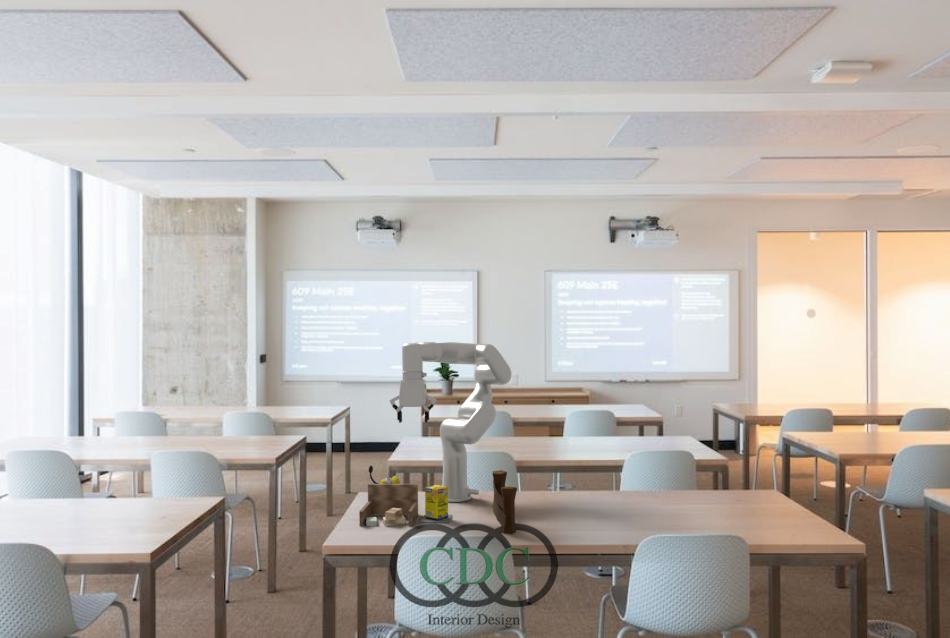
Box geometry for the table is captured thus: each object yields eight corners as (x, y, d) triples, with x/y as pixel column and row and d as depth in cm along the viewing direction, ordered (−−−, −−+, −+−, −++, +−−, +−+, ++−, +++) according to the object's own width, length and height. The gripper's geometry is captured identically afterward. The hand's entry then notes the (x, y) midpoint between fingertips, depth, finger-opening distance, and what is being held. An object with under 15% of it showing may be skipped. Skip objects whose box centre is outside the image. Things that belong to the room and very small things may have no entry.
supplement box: (437, 521, 260) (437, 489, 260) (424, 518, 264) (424, 487, 264) (448, 517, 265) (448, 486, 265) (435, 515, 268) (435, 484, 269)
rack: (418, 514, 272) (417, 483, 272) (411, 526, 256) (411, 493, 256) (368, 514, 273) (368, 483, 273) (359, 526, 257) (359, 493, 257)
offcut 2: (392, 514, 263) (392, 507, 263) (402, 515, 262) (401, 508, 262) (385, 519, 257) (385, 512, 257) (394, 520, 256) (394, 512, 256)
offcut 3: (403, 522, 262) (403, 515, 262) (404, 525, 258) (404, 518, 258) (383, 524, 260) (382, 517, 260) (384, 527, 256) (384, 519, 256)
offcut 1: (376, 522, 262) (376, 516, 262) (376, 526, 257) (376, 520, 257) (366, 523, 262) (366, 517, 262) (366, 527, 257) (366, 521, 257)
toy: (408, 470, 288) (368, 467, 286) (403, 507, 288) (364, 503, 286) (407, 467, 295) (369, 464, 293) (403, 503, 294) (364, 500, 292)
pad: (452, 515, 269) (452, 514, 269) (449, 523, 259) (449, 521, 259) (424, 515, 269) (424, 514, 269) (420, 523, 259) (420, 521, 259)
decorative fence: (490, 510, 276) (490, 469, 276) (506, 510, 276) (506, 469, 276) (501, 536, 242) (501, 490, 242) (519, 535, 243) (519, 489, 243)
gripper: (436, 375, 283) (437, 420, 283) (391, 375, 284) (391, 421, 284) (434, 376, 276) (435, 423, 276) (388, 377, 277) (388, 423, 277)
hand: (413, 422), depth 280 cm, fingers open, 9 cm apart
